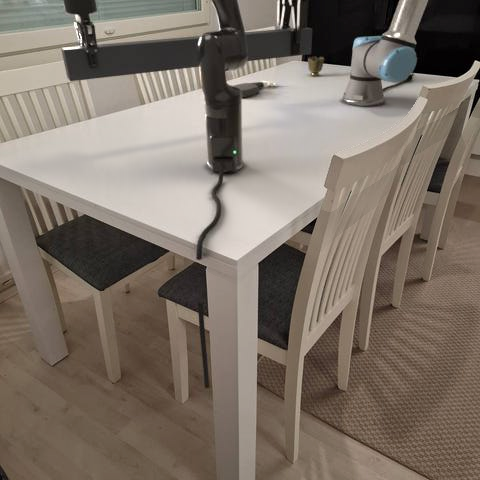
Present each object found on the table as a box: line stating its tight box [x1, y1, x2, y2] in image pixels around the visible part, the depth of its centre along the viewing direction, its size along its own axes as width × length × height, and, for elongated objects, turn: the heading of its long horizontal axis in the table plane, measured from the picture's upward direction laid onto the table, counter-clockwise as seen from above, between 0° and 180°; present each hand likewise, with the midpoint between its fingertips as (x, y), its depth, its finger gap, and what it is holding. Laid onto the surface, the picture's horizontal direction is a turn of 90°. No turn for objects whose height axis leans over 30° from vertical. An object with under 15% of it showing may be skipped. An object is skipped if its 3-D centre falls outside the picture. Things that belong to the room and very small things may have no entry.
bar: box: [60, 27, 313, 82], centre depth 127 cm, size 74×5×7 cm, turn 117°
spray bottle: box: [233, 80, 277, 99], centre depth 187 cm, size 3×11×24 cm
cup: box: [307, 56, 325, 77], centre depth 209 cm, size 8×7×8 cm
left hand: (91, 65), depth 115 cm, fingers closed on bar, 4 cm apart
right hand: (290, 52), depth 140 cm, fingers closed on bar, 5 cm apart
